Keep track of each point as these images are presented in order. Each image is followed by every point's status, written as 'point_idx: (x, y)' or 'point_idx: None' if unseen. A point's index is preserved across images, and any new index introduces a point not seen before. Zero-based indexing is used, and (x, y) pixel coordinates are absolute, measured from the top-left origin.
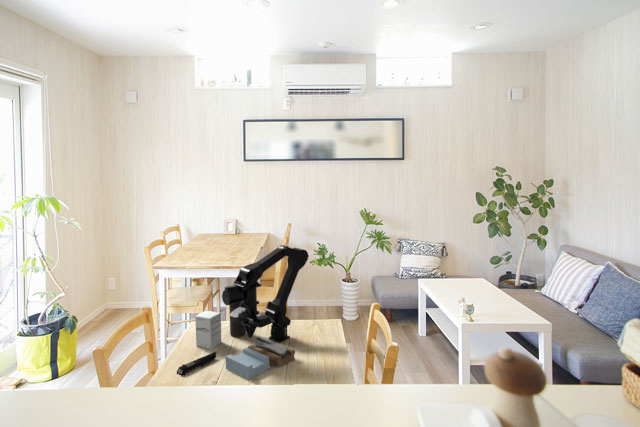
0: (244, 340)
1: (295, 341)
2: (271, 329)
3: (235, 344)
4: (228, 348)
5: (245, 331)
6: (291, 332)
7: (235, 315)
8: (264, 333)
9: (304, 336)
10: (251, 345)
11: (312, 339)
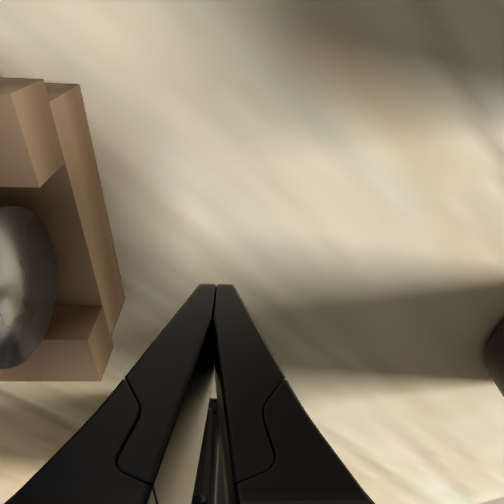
0: (415, 289)
1: None
2: (193, 499)
3: (450, 178)
4: (471, 35)
5: (497, 382)
6: None
7: None
8: (346, 428)
9: None
10: (10, 159)
11: None
